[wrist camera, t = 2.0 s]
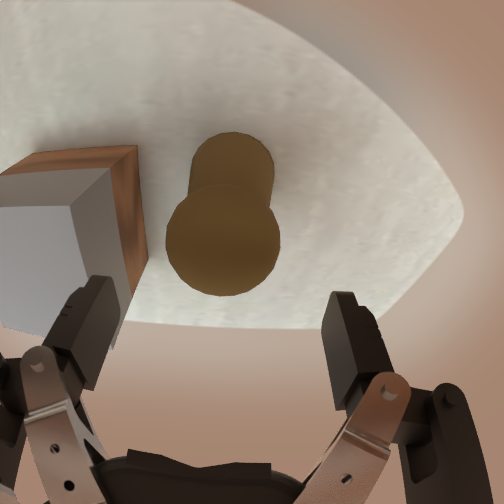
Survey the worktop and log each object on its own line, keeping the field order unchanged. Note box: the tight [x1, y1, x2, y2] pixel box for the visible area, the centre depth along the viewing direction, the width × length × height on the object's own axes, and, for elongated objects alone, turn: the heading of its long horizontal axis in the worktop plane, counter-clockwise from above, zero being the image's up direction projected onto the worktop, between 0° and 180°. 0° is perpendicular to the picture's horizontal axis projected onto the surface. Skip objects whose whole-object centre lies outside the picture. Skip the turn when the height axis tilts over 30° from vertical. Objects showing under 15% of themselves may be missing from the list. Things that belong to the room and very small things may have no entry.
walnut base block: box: [0, 145, 148, 297], centre depth 21 cm, size 10×10×5 cm
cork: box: [166, 132, 280, 296], centre depth 17 cm, size 6×6×11 cm
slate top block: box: [0, 168, 132, 350], centre depth 17 cm, size 10×10×5 cm
